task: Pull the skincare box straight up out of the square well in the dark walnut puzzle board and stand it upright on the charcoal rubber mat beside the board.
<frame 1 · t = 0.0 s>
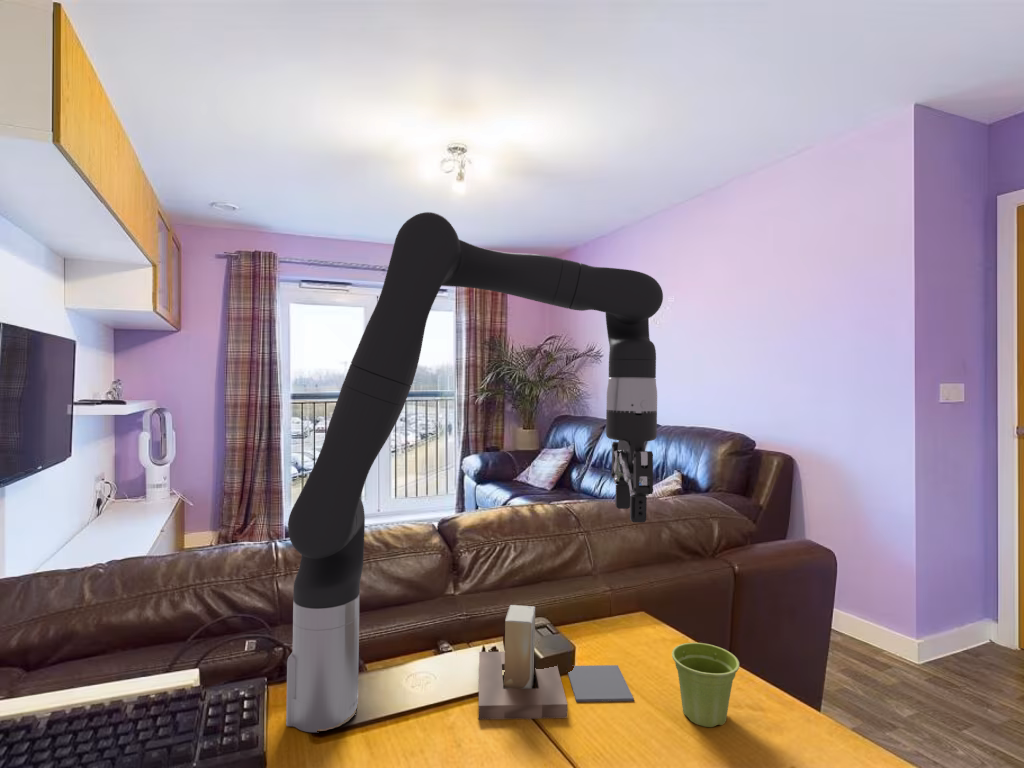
hand: (630, 514, 82), 29 cm above the table, fingers open, 8 cm apart
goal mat: (598, 683, 89), on the table
skincare box: (519, 689, 87), resting in puzzle board
puzzle board: (519, 688, 87), on the table
plant pot: (704, 717, 81), on the table
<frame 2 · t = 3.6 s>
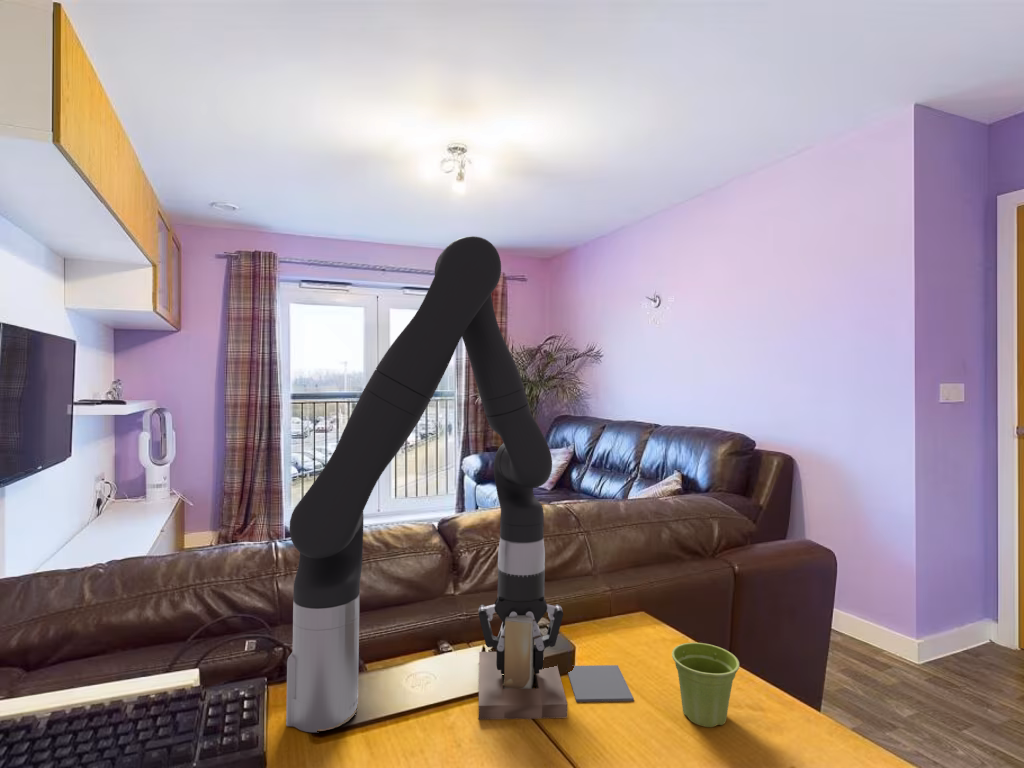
hand: (519, 670, 87), 3 cm above the table, fingers closed on skincare box, 4 cm apart
skincare box: (519, 689, 87), resting in puzzle board, touching gripper
everything else where it was.
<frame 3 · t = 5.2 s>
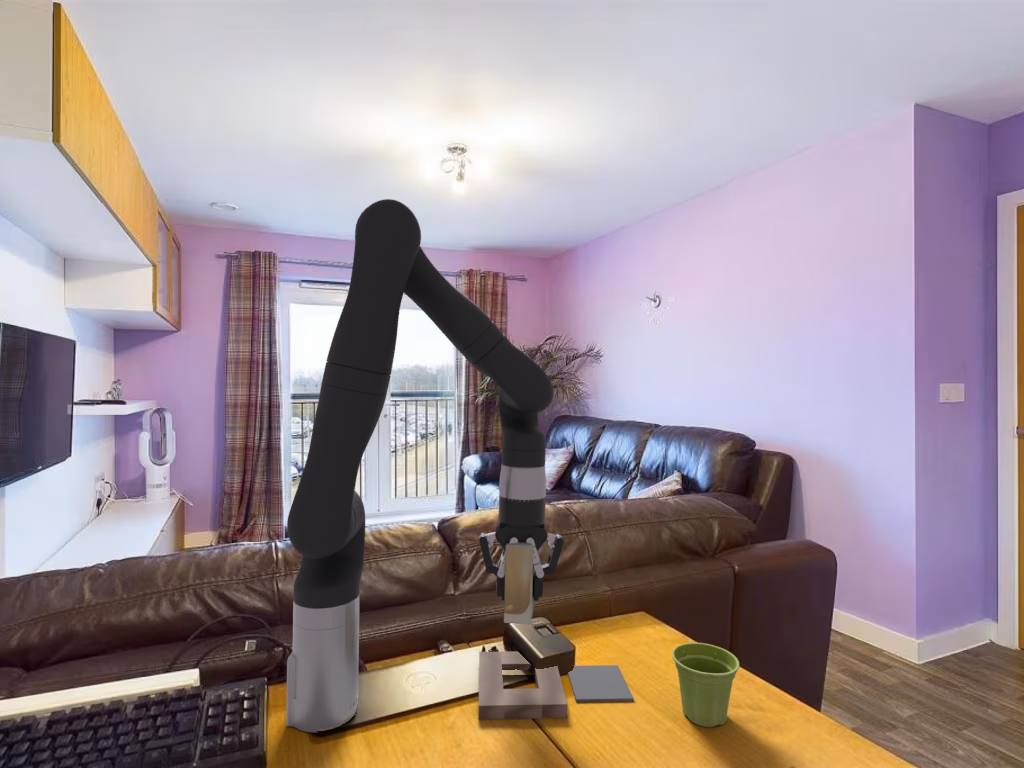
hand: (519, 598, 87), 14 cm above the table, fingers closed on skincare box, 4 cm apart
skincare box: (518, 617, 87), point 11 cm above the table, touching gripper
everything else where it was.
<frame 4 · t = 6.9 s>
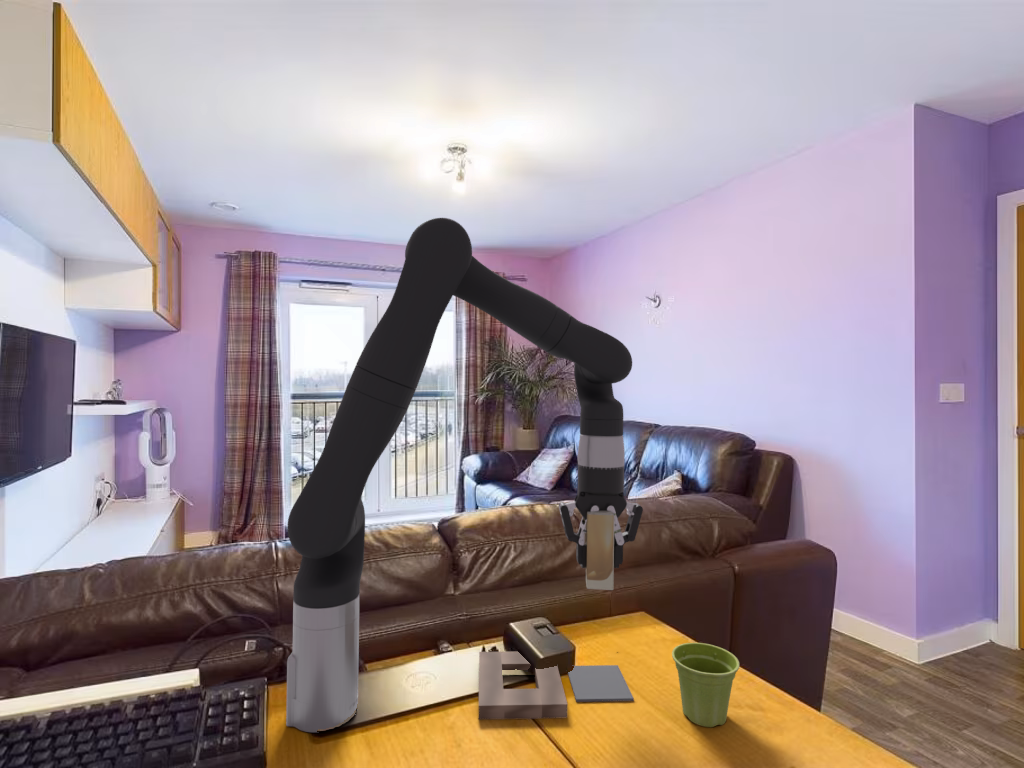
hand: (599, 566, 89), 19 cm above the table, fingers closed on skincare box, 4 cm apart
skincare box: (599, 584, 89), point 16 cm above the table, touching gripper
everything else where it was.
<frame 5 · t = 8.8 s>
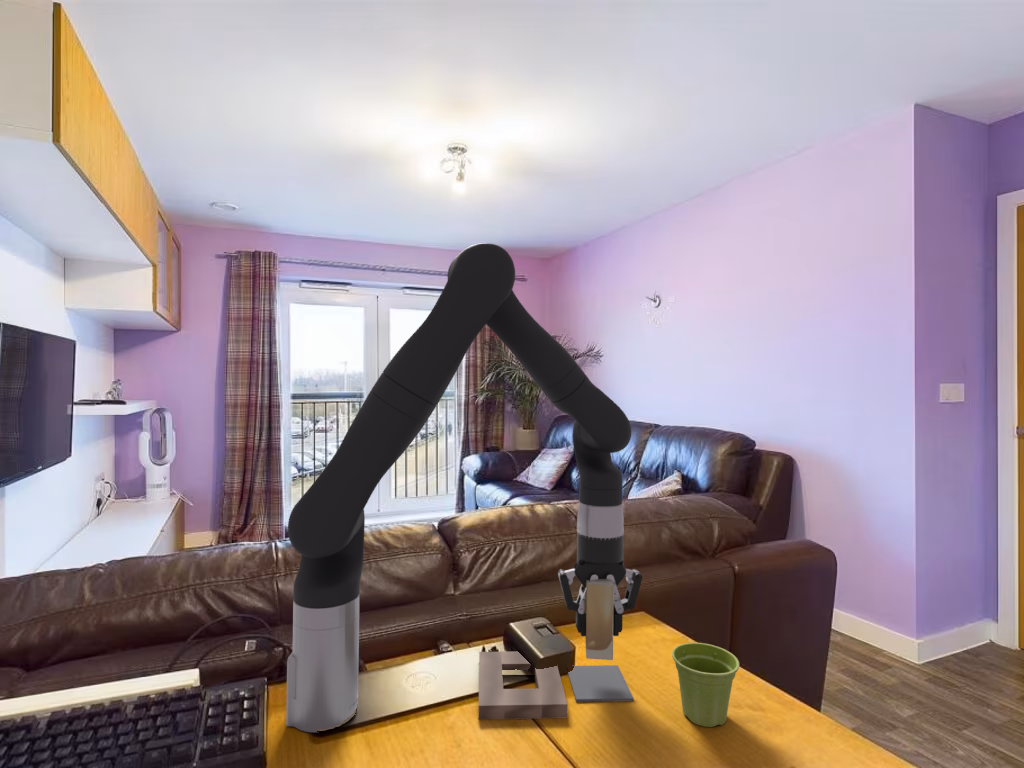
hand: (599, 633, 89), 8 cm above the table, fingers closed on skincare box, 4 cm apart
skincare box: (598, 652, 89), point 5 cm above the table, touching gripper
everything else where it was.
when the fingers open (4 cm above the table, at t = 10.5 s): skincare box stays where it is, resting on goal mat.
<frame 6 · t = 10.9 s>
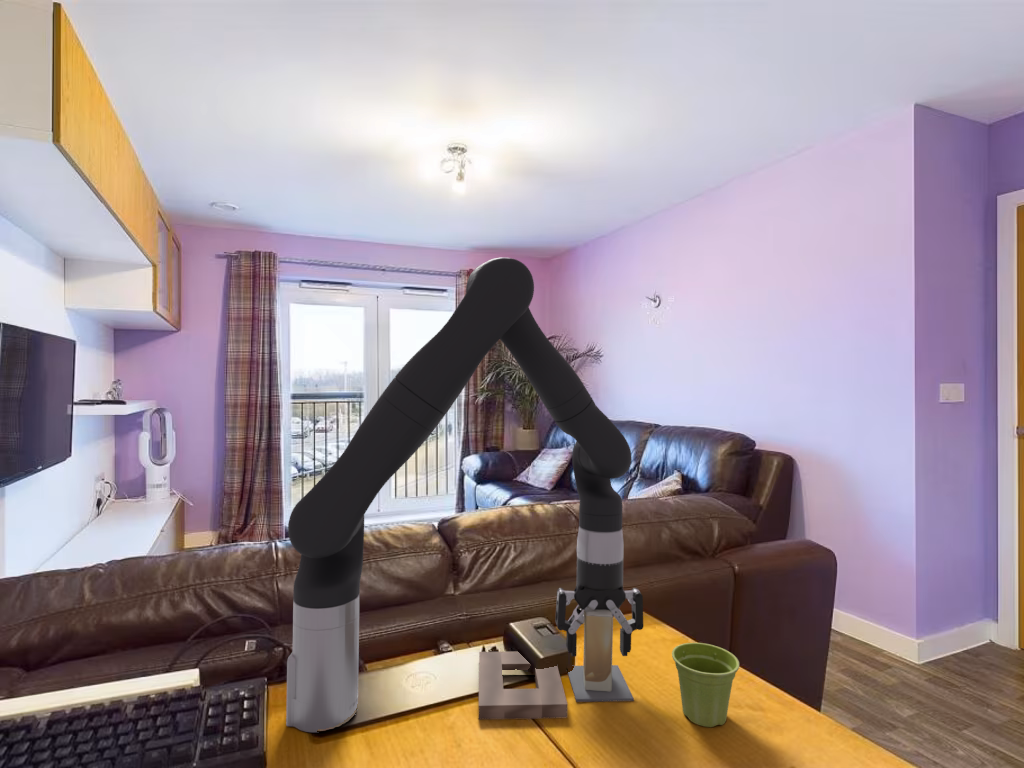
hand: (598, 654, 89), 5 cm above the table, fingers open, 8 cm apart
skincare box: (597, 682, 89), resting on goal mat
everything else where it was.
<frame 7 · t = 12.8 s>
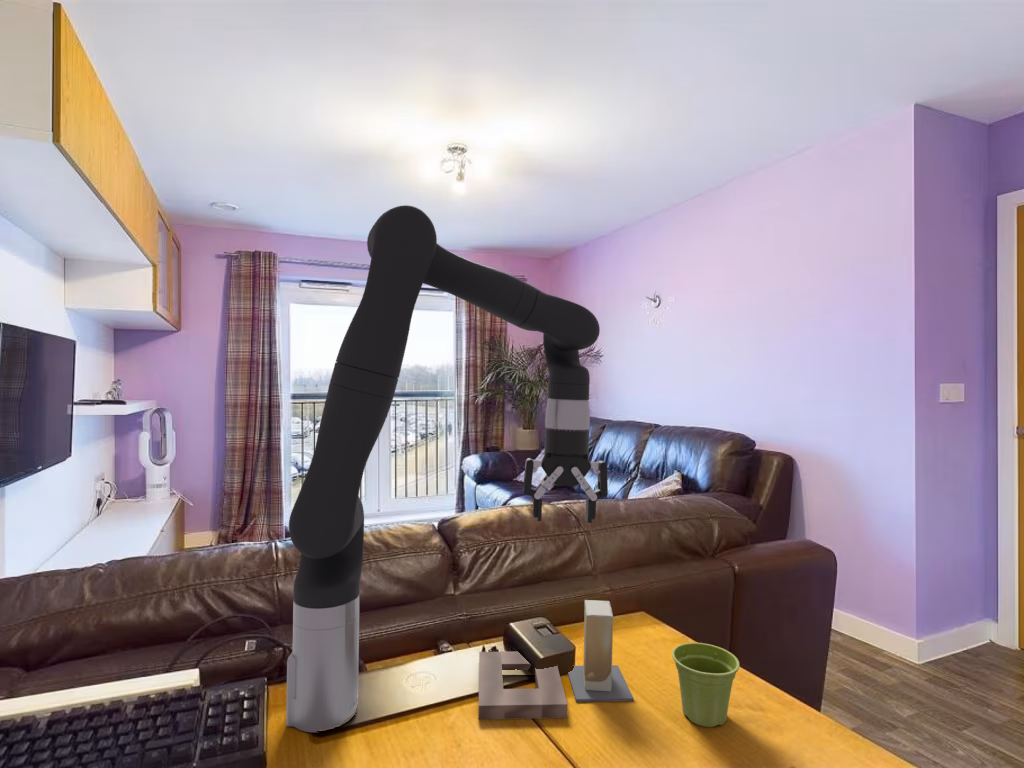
hand: (563, 521, 93), 26 cm above the table, fingers open, 8 cm apart
nothing on the table moved.
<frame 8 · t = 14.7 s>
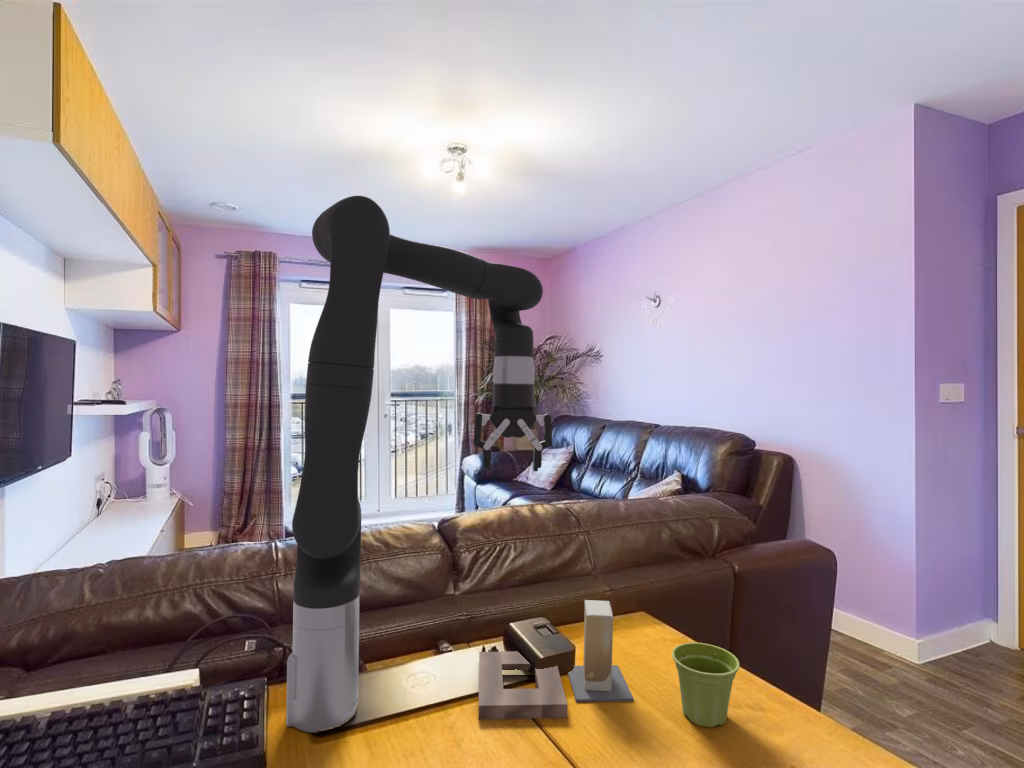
hand: (512, 470, 99), 33 cm above the table, fingers open, 8 cm apart
nothing on the table moved.
at the end: skincare box inside the target area (0.2 cm from its centre), resting on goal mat; skincare box tilted 0°; the gripper is holding nothing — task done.
